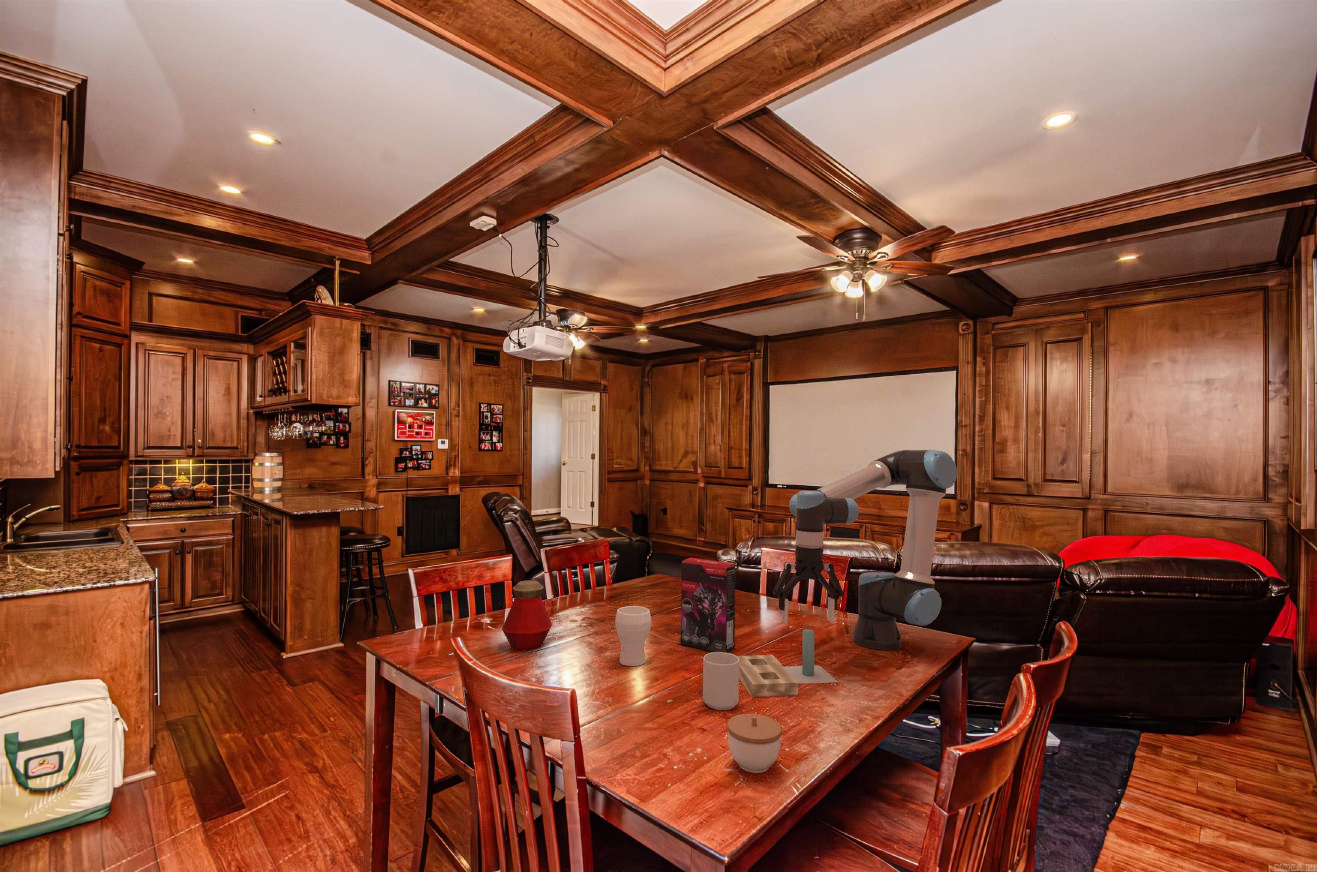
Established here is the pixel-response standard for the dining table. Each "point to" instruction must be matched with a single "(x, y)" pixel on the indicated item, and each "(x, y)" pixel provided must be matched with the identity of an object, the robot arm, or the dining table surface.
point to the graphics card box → (708, 605)
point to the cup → (632, 633)
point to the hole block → (766, 676)
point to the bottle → (527, 617)
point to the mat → (818, 677)
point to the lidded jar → (754, 741)
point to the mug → (721, 680)
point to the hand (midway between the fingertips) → (807, 621)
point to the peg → (808, 653)
